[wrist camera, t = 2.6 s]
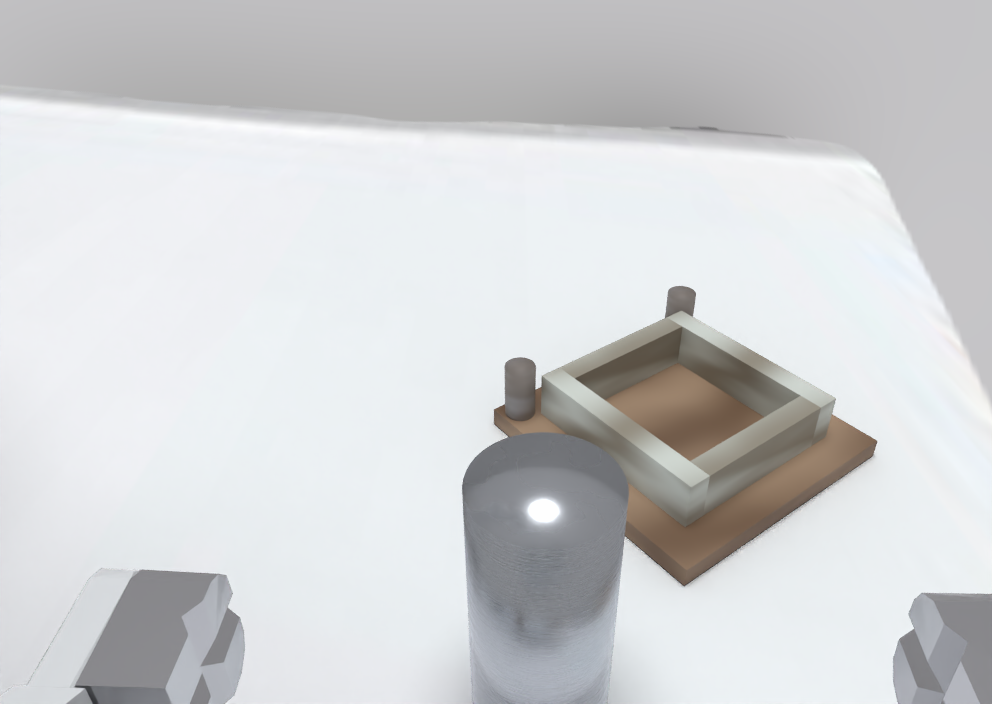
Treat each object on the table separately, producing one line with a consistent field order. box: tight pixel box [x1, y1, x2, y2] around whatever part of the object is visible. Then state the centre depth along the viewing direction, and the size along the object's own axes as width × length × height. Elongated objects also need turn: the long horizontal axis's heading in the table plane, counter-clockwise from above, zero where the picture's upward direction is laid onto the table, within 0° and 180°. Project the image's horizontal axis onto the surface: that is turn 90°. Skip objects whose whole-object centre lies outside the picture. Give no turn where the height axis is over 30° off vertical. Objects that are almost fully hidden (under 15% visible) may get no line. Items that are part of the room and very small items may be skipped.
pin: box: [462, 432, 629, 704], centre depth 29 cm, size 5×5×12 cm
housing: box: [494, 286, 877, 586], centre depth 45 cm, size 14×14×4 cm
